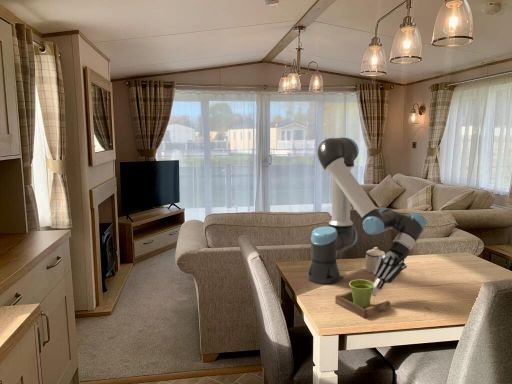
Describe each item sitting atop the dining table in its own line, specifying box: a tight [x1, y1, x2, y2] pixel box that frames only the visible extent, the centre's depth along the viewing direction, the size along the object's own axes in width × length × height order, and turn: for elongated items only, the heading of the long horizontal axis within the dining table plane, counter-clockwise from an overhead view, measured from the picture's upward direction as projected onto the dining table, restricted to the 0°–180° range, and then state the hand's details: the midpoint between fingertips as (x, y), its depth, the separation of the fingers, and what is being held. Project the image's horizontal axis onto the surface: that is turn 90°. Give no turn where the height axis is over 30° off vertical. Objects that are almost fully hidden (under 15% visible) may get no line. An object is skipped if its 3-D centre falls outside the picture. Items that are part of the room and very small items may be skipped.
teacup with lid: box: [365, 246, 386, 274], centre depth 195 cm, size 12×9×12 cm
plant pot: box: [348, 278, 374, 309], centre depth 156 cm, size 9×9×9 cm
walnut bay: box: [334, 290, 391, 319], centre depth 155 cm, size 14×15×3 cm
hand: (372, 293), depth 157 cm, fingers closed
